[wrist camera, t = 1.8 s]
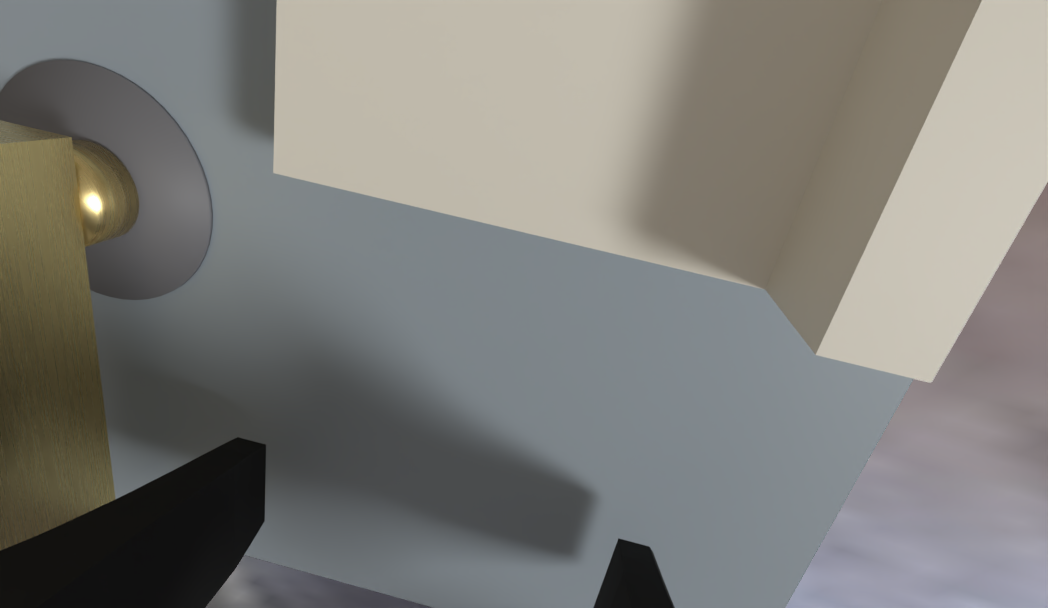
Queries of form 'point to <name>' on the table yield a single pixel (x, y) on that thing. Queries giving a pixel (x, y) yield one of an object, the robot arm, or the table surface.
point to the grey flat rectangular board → (424, 351)
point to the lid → (700, 140)
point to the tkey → (53, 326)
